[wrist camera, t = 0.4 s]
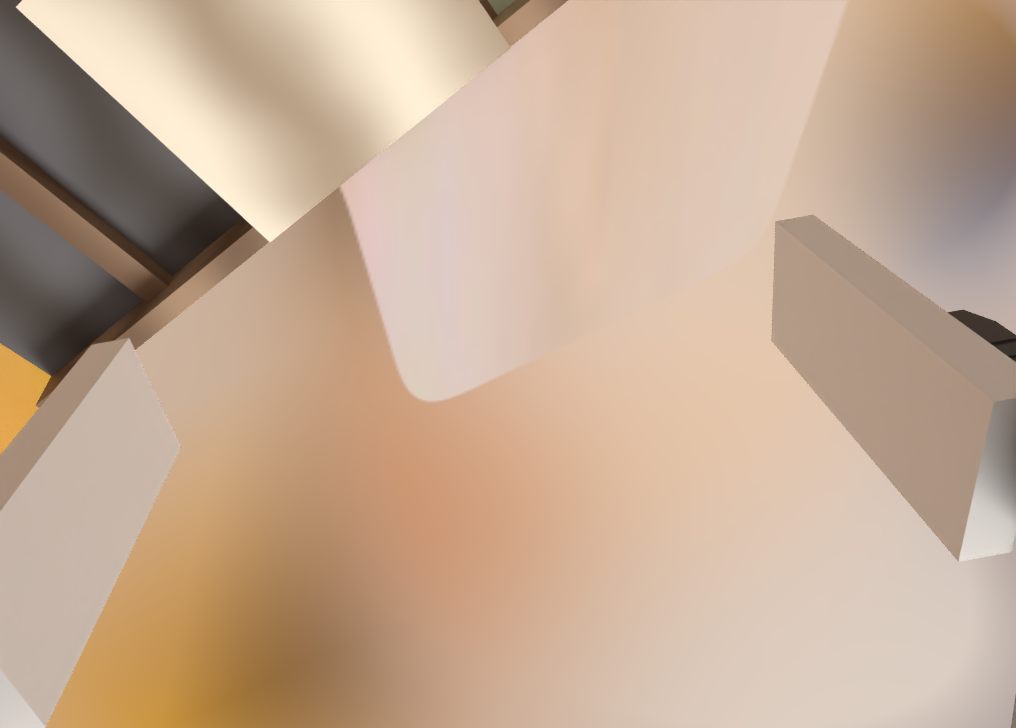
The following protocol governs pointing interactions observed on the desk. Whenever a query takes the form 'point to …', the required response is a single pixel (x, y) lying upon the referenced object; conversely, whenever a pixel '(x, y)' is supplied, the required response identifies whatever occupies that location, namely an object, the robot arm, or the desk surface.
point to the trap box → (109, 206)
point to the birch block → (274, 83)
